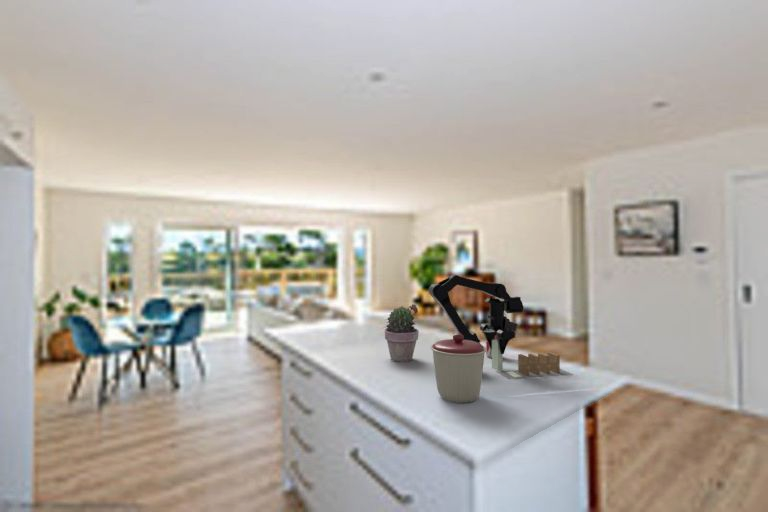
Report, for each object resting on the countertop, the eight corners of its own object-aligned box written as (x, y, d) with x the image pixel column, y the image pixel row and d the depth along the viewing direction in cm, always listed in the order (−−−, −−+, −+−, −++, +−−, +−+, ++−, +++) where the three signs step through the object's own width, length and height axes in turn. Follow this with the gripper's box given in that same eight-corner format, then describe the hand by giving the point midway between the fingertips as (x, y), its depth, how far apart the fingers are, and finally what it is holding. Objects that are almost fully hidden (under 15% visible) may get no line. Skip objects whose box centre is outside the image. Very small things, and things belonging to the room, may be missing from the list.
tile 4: (546, 374, 145) (545, 356, 145) (538, 370, 150) (538, 353, 150) (549, 373, 146) (549, 356, 146) (541, 370, 151) (541, 352, 151)
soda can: (503, 356, 174) (503, 328, 174) (499, 359, 168) (499, 331, 168) (488, 354, 178) (488, 327, 178) (484, 357, 172) (483, 329, 172)
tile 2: (525, 375, 143) (525, 357, 144) (518, 371, 148) (518, 354, 148) (529, 375, 144) (529, 357, 144) (521, 371, 149) (521, 354, 149)
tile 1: (498, 371, 150) (497, 342, 150) (491, 368, 155) (491, 339, 155) (502, 371, 150) (502, 341, 150) (496, 368, 155) (496, 339, 155)
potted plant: (372, 356, 173) (372, 303, 174) (408, 352, 182) (408, 301, 182) (388, 366, 157) (388, 307, 157) (428, 361, 165) (428, 305, 166)
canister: (448, 384, 135) (447, 326, 135) (495, 395, 123) (495, 332, 124) (420, 398, 121) (420, 334, 121) (471, 413, 109) (471, 341, 110)
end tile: (556, 373, 146) (556, 355, 146) (547, 369, 151) (547, 352, 151) (559, 373, 147) (559, 355, 147) (551, 369, 152) (551, 352, 152)
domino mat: (508, 380, 139) (508, 379, 139) (495, 372, 149) (495, 371, 149) (573, 375, 145) (573, 374, 145) (556, 368, 155) (556, 366, 155)
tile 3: (535, 374, 144) (535, 356, 144) (528, 371, 149) (528, 353, 149) (539, 374, 145) (539, 356, 145) (531, 370, 150) (531, 353, 150)
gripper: (527, 316, 145) (527, 356, 145) (502, 310, 163) (502, 345, 163) (501, 317, 143) (501, 357, 143) (479, 310, 161) (479, 346, 161)
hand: (496, 351), depth 152 cm, fingers open, 8 cm apart
